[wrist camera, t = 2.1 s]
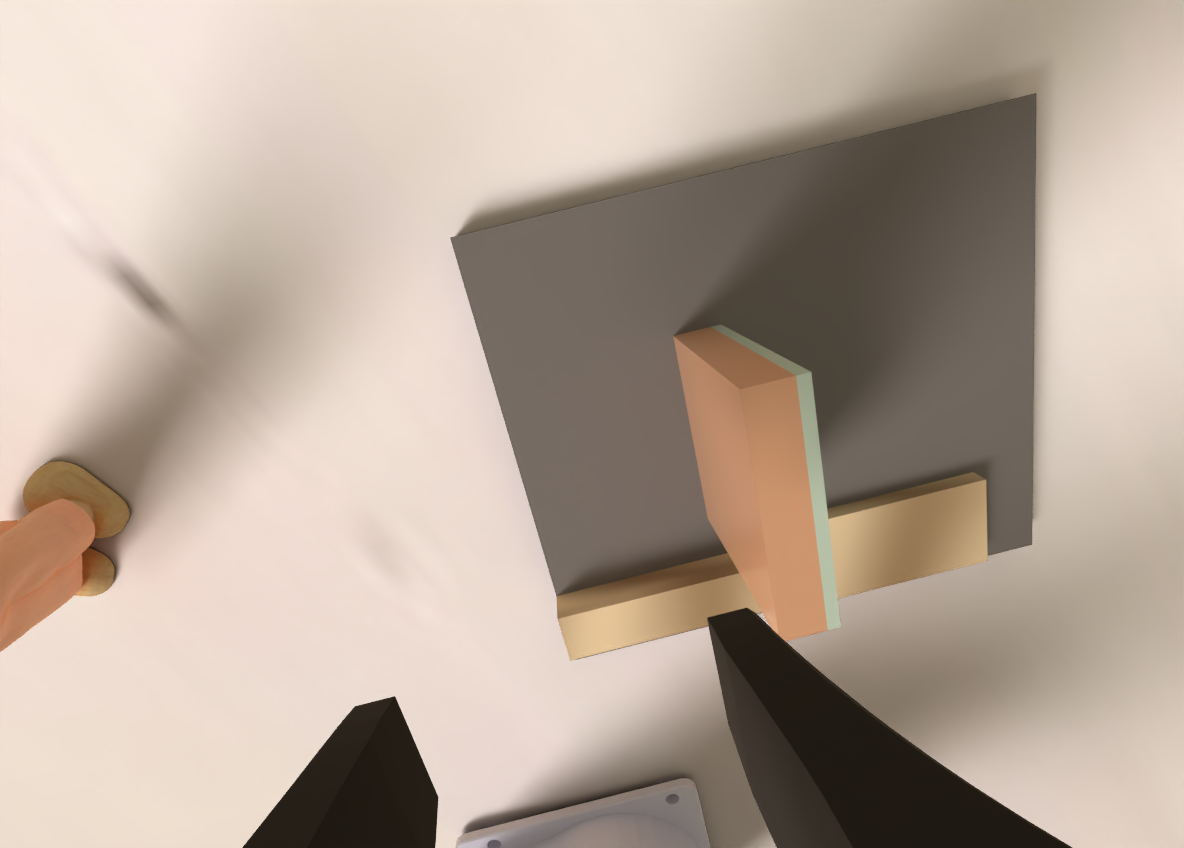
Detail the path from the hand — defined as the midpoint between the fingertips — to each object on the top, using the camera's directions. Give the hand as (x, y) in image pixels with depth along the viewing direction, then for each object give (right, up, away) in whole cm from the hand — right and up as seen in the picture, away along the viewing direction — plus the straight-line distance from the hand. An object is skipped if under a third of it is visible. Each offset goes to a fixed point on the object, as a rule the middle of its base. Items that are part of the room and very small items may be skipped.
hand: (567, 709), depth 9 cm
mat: (+6, +5, +10) cm, 13 cm away
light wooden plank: (+7, 0, +11) cm, 13 cm away
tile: (+4, +4, +9) cm, 11 cm away
